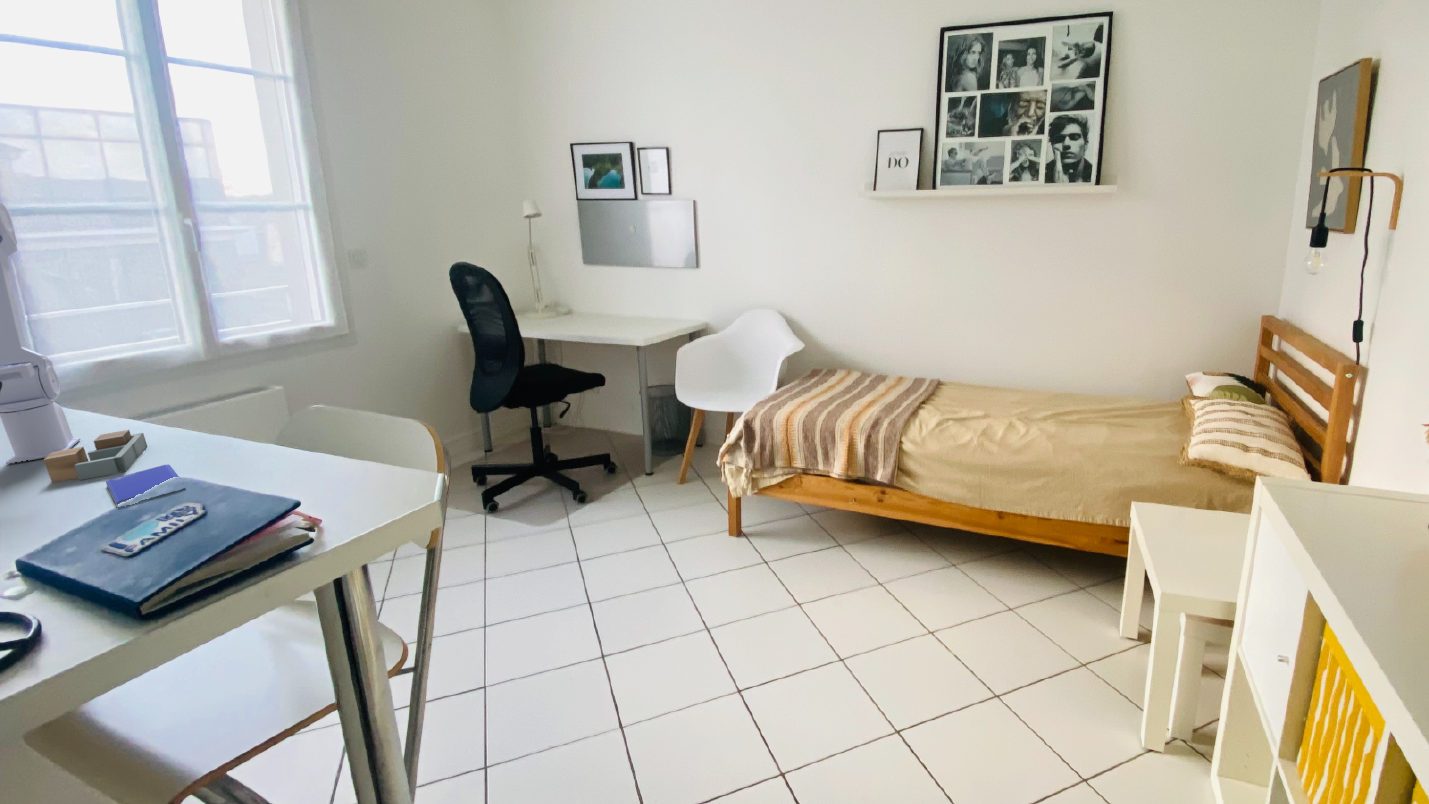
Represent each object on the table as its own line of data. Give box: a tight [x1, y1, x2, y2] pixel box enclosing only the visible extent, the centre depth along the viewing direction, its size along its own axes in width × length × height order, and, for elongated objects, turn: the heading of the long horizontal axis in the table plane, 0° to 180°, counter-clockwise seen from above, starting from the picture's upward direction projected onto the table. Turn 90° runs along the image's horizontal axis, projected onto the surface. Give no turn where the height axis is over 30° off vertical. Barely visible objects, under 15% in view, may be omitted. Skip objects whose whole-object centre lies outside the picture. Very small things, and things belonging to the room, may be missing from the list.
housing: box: [74, 432, 148, 481], centre depth 122 cm, size 14×6×2 cm, turn 25°
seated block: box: [93, 429, 132, 450], centre depth 125 cm, size 4×4×4 cm
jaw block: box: [43, 446, 89, 483], centre depth 117 cm, size 4×4×4 cm
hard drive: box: [105, 464, 180, 506], centre depth 110 cm, size 2×8×12 cm
